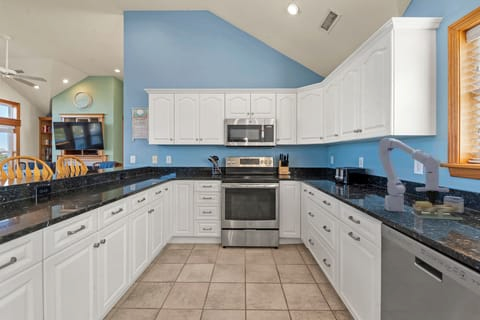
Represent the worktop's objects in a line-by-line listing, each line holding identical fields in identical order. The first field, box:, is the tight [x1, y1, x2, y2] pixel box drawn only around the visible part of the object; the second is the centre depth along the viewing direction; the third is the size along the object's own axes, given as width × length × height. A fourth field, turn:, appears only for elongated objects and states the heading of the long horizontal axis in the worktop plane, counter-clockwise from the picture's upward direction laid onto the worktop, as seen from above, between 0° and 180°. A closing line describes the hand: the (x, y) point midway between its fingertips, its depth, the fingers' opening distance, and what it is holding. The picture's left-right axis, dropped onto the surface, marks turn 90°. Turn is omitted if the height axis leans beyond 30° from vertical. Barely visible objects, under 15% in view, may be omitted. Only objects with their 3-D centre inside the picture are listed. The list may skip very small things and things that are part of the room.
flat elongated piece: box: [412, 204, 461, 213], centre depth 135 cm, size 19×9×2 cm, turn 73°
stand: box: [410, 208, 464, 221], centre depth 135 cm, size 20×11×5 cm, turn 73°
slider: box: [415, 201, 432, 207], centre depth 137 cm, size 6×5×3 cm
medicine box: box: [443, 195, 465, 214], centre depth 145 cm, size 8×4×9 cm, turn 27°
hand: (432, 204), depth 136 cm, fingers closed
